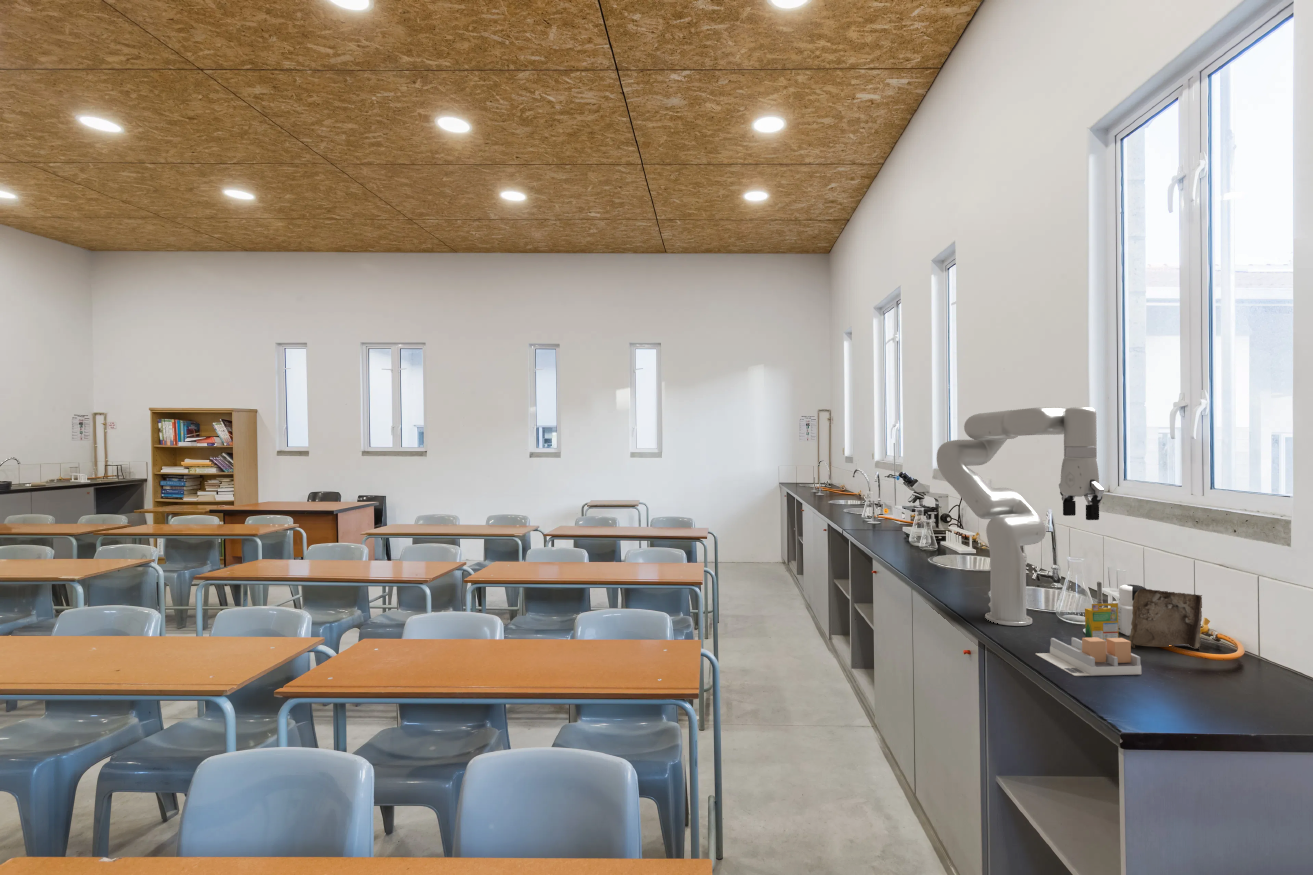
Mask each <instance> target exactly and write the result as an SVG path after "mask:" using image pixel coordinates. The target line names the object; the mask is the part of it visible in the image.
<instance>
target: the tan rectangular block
mask: <svg viewBox="0 0 1313 875" xmlns="http://www.w3.org/2000/svg"><path fill="white" fill-rule="evenodd" d="M1081 641H1082V652H1083V653H1085V654H1087V655H1089V656H1091V657H1093V658H1095V662H1106V641H1105V640H1102V639H1100V638H1098V637H1093V638H1085V637H1081Z"/></svg>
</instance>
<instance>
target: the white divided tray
mask: <svg viewBox="0 0 1313 875" xmlns="http://www.w3.org/2000/svg"><path fill="white" fill-rule="evenodd" d="M1092 638H1093V637H1092ZM1035 655H1036V656H1038V657H1039V658H1042V659H1043V660H1045V661H1047V662H1048V663H1050V664H1053V665H1054V666H1056V667H1057V668H1059V669H1061V670H1062V671H1065V672H1067V673H1068V674H1070V675H1072V676H1074V677H1084V676H1085V677H1087V676H1092V677H1093V676H1123V675H1124V676H1125V675H1126V676H1127V675H1128V676H1130V675H1133V676H1134V675H1142V665H1141V656H1139V655H1137V654H1134V653H1132V652H1131V662H1130V663H1118V658H1117V657H1115V656H1113V655H1111V654H1109V653H1107V652H1106V662H1095V658H1093V657H1091V656H1089V655H1087V654H1085V653H1083V652H1082V639H1081V640H1080V639H1078V638H1076V637H1071V645H1069V644H1066V643H1064V642H1063V641H1060V640H1059V639H1057V638H1055V637H1050V646H1049V652H1047V653H1046V652H1042V653H1041V652H1039V653H1037V652H1036V653H1035Z"/></svg>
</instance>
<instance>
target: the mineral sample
mask: <svg viewBox="0 0 1313 875" xmlns="http://www.w3.org/2000/svg"><path fill="white" fill-rule="evenodd" d="M1202 596H1203V594H1196V593H1195V594H1192V593H1185V592H1175V591H1169V590H1166V591H1165V590H1158V589H1157V590H1156V589H1151V588H1149V589H1148V588H1146V589H1140V590H1138V591H1137V593H1136V594H1135V598H1134V601H1133V605H1132V607H1133V609H1132V610H1133V612H1132V614H1133V618H1132V622H1131V625H1132V628H1131V634H1130V636H1128V639H1127V640H1128V641H1131V648H1133V649H1136V646H1143V647H1157V648H1158V647H1159V648H1169V645H1174V644H1189V645H1190V646H1192V647H1195V648H1198V647H1199V648H1200V647H1201V646H1202V645H1201V640H1202V638H1201V625H1202V619H1203V618H1202V617H1203V615H1202V614H1203V612H1202V609H1203V599H1202V598H1203V597H1202Z"/></svg>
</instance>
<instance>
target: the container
mask: <svg viewBox="0 0 1313 875" xmlns="http://www.w3.org/2000/svg"><path fill="white" fill-rule="evenodd" d="M1140 589H1147V588H1146V587H1145V586H1142V585H1139V584H1129V583H1128V584H1123V585H1120V586H1119V587H1118V592H1119V593H1118V595H1119V596H1118V598H1119V599H1118V600H1119V601H1118V600H1117V601H1111V603H1118V633H1121V634H1123V635H1125V636H1127V637H1130V634H1131V628H1132V625H1131V622H1132V618H1133V614H1132V612H1133V610H1132V609H1133V607H1132V605H1133V601H1134V598H1135V594H1136V593H1137V591H1138V590H1140Z"/></svg>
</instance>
